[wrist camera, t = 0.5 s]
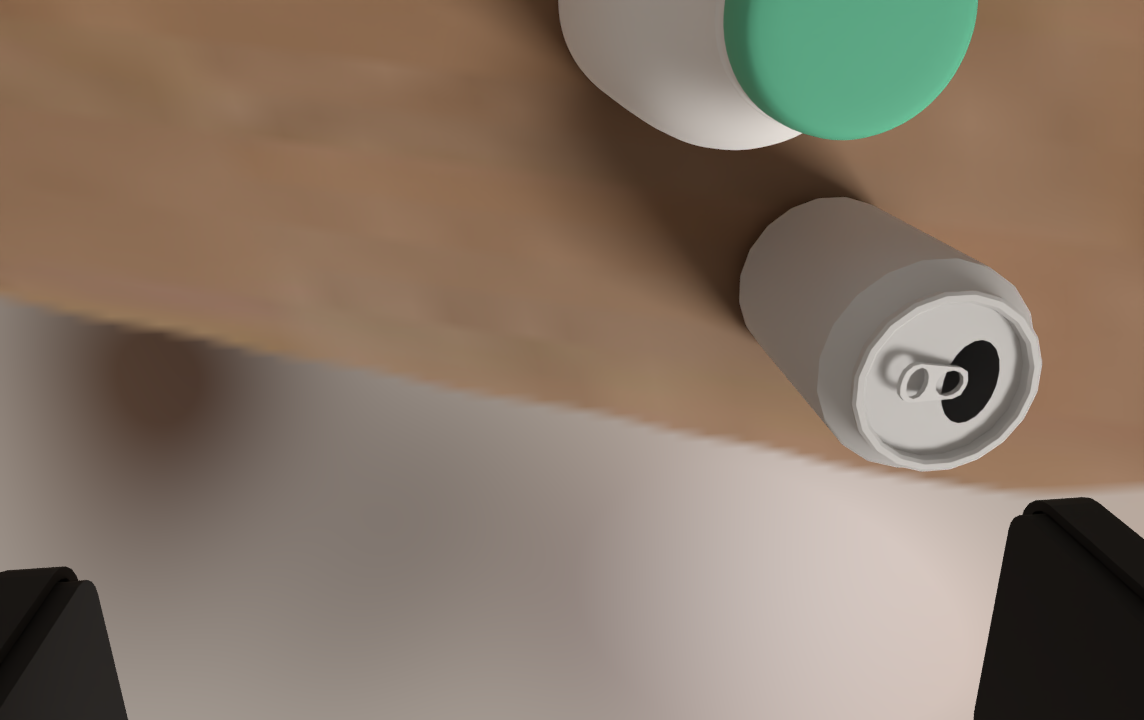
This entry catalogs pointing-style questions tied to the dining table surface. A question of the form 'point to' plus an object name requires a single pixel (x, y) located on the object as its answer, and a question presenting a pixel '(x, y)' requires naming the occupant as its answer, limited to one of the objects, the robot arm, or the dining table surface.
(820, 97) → the milk bottle
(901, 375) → the can
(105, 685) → the robot arm
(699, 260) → the dining table surface
